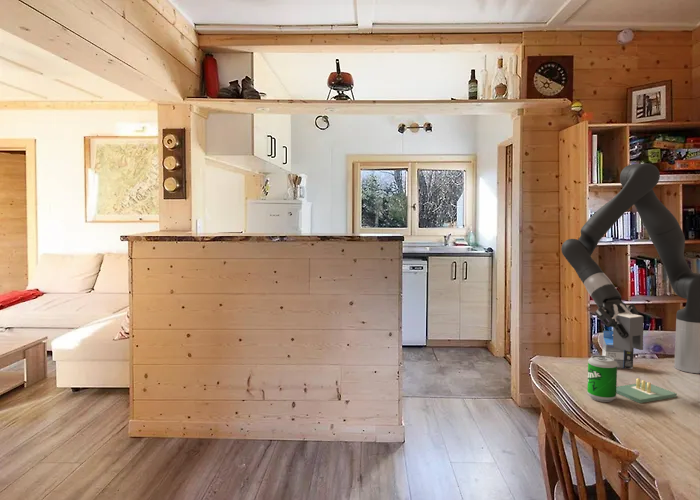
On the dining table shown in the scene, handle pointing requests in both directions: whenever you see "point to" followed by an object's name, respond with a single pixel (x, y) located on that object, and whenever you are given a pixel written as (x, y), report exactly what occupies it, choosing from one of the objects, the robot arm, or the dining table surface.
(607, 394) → the soda can
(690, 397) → the dining table surface
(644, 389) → the board
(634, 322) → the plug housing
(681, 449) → the dining table surface
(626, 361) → the blue retail box
